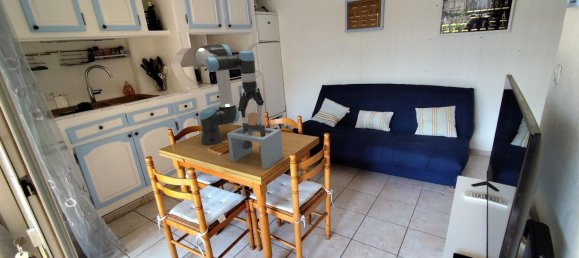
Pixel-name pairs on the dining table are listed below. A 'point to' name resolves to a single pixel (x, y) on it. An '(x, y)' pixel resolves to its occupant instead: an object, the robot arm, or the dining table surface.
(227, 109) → the robot arm
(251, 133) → the hook bar
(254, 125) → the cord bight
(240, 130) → the shelf
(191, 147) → the dining table surface
